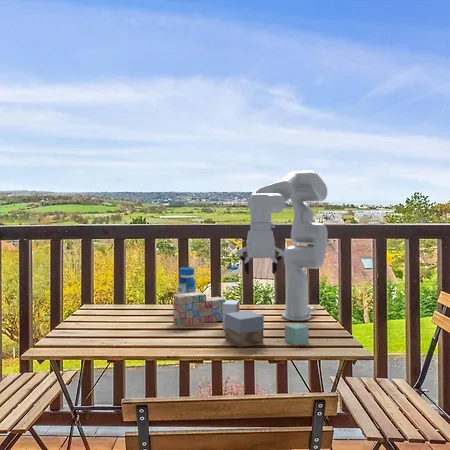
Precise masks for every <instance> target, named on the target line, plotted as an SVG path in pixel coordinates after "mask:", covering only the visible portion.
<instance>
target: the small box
mask: <svg viewBox="0 0 450 450" xmlns="http://www.w3.org/2000/svg"><path fill="white" fill-rule="evenodd" d="M233 312H240V300H238V299H237V300H233V299H225V303H224V304H223V320H222V330H224V331H225V327H226V313H233Z"/></svg>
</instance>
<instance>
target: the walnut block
mask: <svg viewBox="0 0 450 450" xmlns="http://www.w3.org/2000/svg"><path fill="white" fill-rule="evenodd" d="M224 331H225V333H224V334H225V338H224V339H225V341H227V342H228V341H229V343H230V342H231V344H232V343H233V345H234V344H235V345H234V346H236V345H237V346H236V347H238V348H242V347H243V346H244V347H248V346H254V344H255V345H258V344H259V343H260V344H264V330H260V331H254V332H247V333H241V334H239V333H237V332H235V331H233V330H231V329H229V328H227V327H225V330H224ZM244 347H243V348H244Z"/></svg>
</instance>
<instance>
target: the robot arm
mask: <svg viewBox="0 0 450 450" xmlns="http://www.w3.org/2000/svg"><path fill="white" fill-rule="evenodd" d="M327 196H328V187H327V184H326V183H325V182H324V180H323V179H322V178H321V176H320V175H319V174H318V173H317V172H315V171H313V170H301V171H300V170H299V171H298V170H297V171H296V170H295V171H291V172H288V173H287V174H285V175H284V176H283V177H282V178H281V179H280V180H278V181H276V182H273V183H270V184H268V185H264V186H262V187H259V188H257V189H256V190H255V191H254V192H252V193H251V194H250V196H249V198H248V200H247V207H248V209H249V211H250V229H249V230H248V231H247V238H246V246H244V247H242V248H240V249H238V250H236V251H237V252H236V253H237V254H238V257H239V259H240V260H241V261H242V262H243V263H244V272H245V273H246V275H249V273H250V272H249V271H250V268H249V267H250V264H249V261H250V260H251V259H271V260H272V263H271V268H272V269H271V272H272V274H273V275H275V274H276V272H278V269H277V268H278V265H277V264H278V262H279V261H280V260H281V259H282V258H283V262H284V269H285V312H283V313H282V315H281V317H282V318H283V319H284V320H287V321H293V322H294V321H296V322H302V321H308V320H311V319H312V315H311V314H310V313H311V312H312V313H313V312H316V311H317V307H316V306H312V307H310V306H308V305H309V304H308V299H309V296H308V295H309V294H308V293H309V291H308V289H309V287H308V286H309V284H308V283H309V280H308V275H307V273H306V271H305V269H317V270H318V269H321V268H322V267H323V265H324V262H325V257H326V251H327V243H328V235H329V234H328V228H327V226H326V225H325V224H324V223H321V222H313V221H314V211H313V210H312V208H311V206H310V205H309V204H308V203H307V202H323V201H326V198H327ZM288 200H290V202H291V204H292V207H293V220H292V225H291V226H292V227H291V232H290V239H291V241H292V242H293V243H295V244H297V245H295V244H294V245H289V246H286V248H285V249H284V250H283V249H281V248H279V247H277V246H276V245H275V238H274V237H275V236H274V231H273V230H272V229H273V228H276V224H274V223H272V214H279V213H281V212H283V211H284V209H285V207H286V203H287V202H286V201H288ZM298 244H300V245H298ZM301 244H302V245H301ZM309 245H310V246H309ZM312 245H313V246H312ZM244 252H246V256H243V253H244ZM275 252H278V253H279V254H278V255H277V256H276V257H275V255H276V254H275Z"/></svg>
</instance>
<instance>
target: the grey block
mask: <svg viewBox="0 0 450 450" xmlns="http://www.w3.org/2000/svg"><path fill="white" fill-rule="evenodd" d="M264 321H265V319H264V315H262V314H259V313H256V312H254V311H251V310H242V311H239V312H233V313H226V327H227V328H229V329H231V330H233V331H235V332H237V333H239V334H241V333H247V332H254V331H260V330H263V331H264V329H265V328H264V323H265V322H264Z"/></svg>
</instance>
